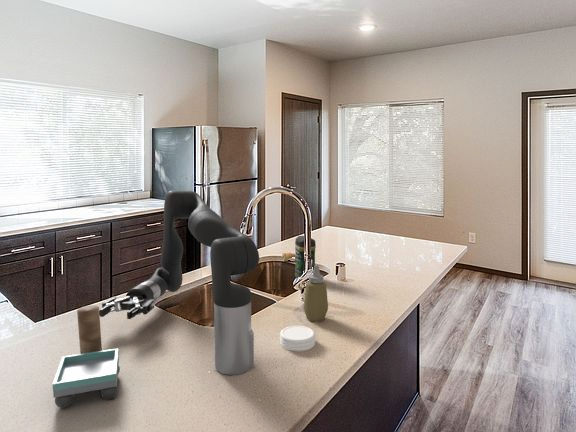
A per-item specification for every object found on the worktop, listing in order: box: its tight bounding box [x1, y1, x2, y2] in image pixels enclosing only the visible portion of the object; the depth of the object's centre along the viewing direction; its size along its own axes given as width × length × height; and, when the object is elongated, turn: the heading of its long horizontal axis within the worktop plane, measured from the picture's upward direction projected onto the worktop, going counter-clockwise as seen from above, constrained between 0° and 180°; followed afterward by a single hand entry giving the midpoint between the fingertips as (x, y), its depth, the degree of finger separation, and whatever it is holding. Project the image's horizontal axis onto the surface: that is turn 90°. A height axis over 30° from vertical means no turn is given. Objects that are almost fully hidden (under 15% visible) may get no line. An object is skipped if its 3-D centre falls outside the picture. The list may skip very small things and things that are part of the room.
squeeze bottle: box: [303, 264, 329, 323], centre depth 131 cm, size 8×8×18 cm
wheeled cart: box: [52, 348, 121, 409], centre depth 91 cm, size 12×12×6 cm
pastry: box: [281, 252, 295, 262], centre depth 204 cm, size 9×7×4 cm
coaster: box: [279, 325, 316, 352], centre depth 115 cm, size 10×10×4 cm
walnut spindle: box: [76, 305, 103, 354], centre depth 104 cm, size 5×5×14 cm
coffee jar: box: [294, 235, 317, 279], centre depth 172 cm, size 10×8×19 cm
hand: (114, 314), depth 114 cm, fingers open, 8 cm apart
